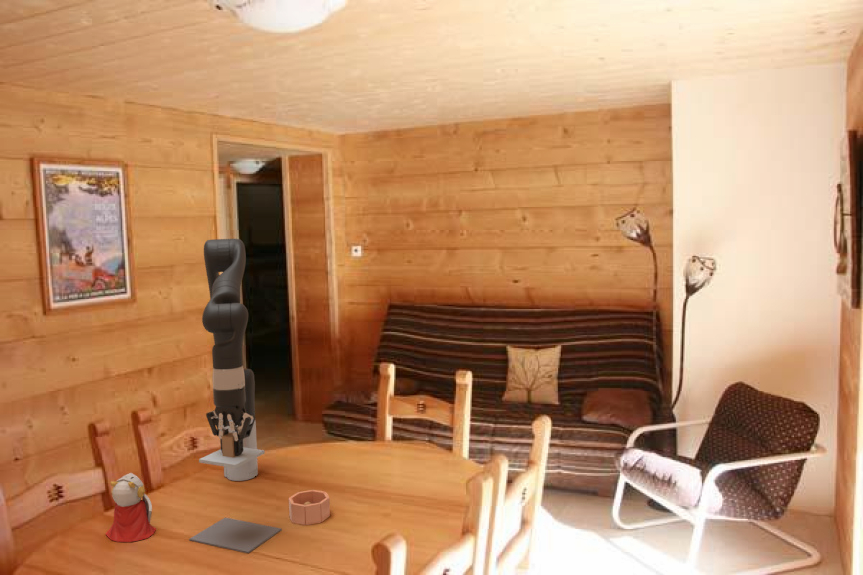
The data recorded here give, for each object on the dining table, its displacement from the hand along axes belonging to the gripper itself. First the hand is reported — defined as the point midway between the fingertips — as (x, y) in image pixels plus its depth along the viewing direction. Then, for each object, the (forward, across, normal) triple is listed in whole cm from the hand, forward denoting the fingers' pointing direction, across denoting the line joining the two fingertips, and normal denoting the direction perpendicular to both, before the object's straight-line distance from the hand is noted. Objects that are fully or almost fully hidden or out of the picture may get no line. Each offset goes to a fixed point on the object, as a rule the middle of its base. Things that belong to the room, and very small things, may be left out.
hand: (232, 453), depth 166 cm
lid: (+1, 0, 0) cm, 1 cm away
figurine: (+21, -26, -8) cm, 35 cm away
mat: (+21, 0, 0) cm, 21 cm away
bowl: (+21, +11, +16) cm, 29 cm away
